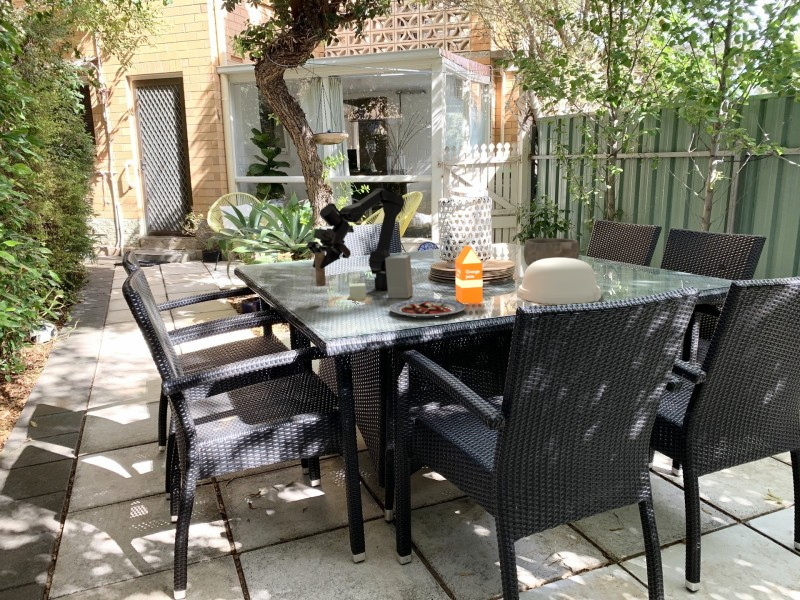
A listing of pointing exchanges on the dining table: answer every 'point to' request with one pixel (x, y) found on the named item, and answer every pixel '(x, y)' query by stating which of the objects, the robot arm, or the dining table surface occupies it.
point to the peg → (319, 269)
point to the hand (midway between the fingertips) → (317, 267)
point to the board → (333, 299)
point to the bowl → (550, 249)
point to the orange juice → (468, 277)
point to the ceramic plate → (427, 307)
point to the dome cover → (559, 282)
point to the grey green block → (357, 291)
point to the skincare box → (399, 276)
